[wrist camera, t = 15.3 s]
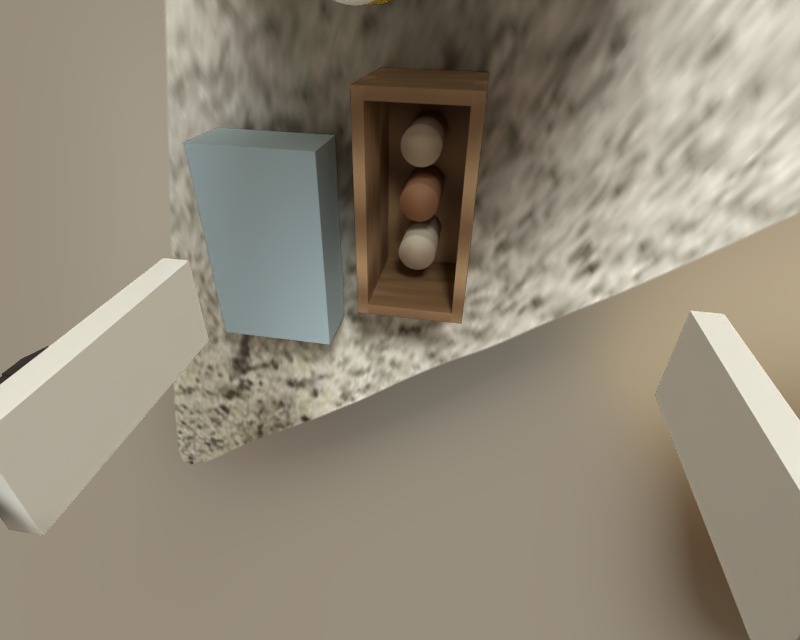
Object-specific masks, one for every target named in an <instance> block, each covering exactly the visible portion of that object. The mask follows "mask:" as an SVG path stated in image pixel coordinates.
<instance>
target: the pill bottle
mask: <svg viewBox="0 0 800 640" xmlns="http://www.w3.org/2000/svg"><path fill="white" fill-rule="evenodd" d="M334 1H336V2H339V3H342V4H346V5H353V6H358V5H371V4H383V3H387V2H391V1H393V0H334Z"/></svg>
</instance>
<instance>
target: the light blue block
mask: <svg viewBox="0 0 800 640" xmlns="http://www.w3.org/2000/svg"><path fill="white" fill-rule="evenodd" d="M184 146H185V151H186V155H187V160H188V164H189V169H190V173H191V178H192V182H193V187H194V191H195V196H196V200H197V205H198V209H199V214H200V218H201V223H202V227H203V232H204V236H205V241H206V245H207V250H208V254H209V259H210V263H211V268H212V272H213V277H214V282H215V286H216V291H217V295H218V300H219V304H220V309H221V313H222V318H223V322H224V327H225V331H226V332H230V333H238V334H247V335H255V336H263V337H271V338H280V339H288V340H296V341H304V342H313V343H321V344H329V345H330V343H331V341H332V339H333V337H334V335H335V333H336V331H337V329H338V327H339V325H340V323H341V321H342V319H343V316H344V299H343V280H342V261H341V242H340V223H339V204H338V185H337V166H336V147H335V135H325V134H310V133H294V132H278V131H262V130H247V129H231V128H214V129H212V130H210V131H208V132H206V133H204V134H201V135H199V136H197V137H195V138H193V139H190V140H188V141H186V142H184Z"/></svg>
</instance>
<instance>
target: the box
mask: <svg viewBox="0 0 800 640" xmlns="http://www.w3.org/2000/svg"><path fill="white" fill-rule="evenodd" d="M488 79H489V72H484V71H460V70H436V69H412V68H388V67H380V68H378V69H377V70H375V71H373V72H372V73H370V74H368V75H367V76H365V77H363V78H361V79H360V80H358V81H356V82H355V83H353V84H351V85H350V100H351V128H352V155H353V183H354V210H355V238H356V265H357V293H358V312H360V313H369V314H378V315H387V316H396V317H405V318H415V319H424V320H433V321H442V322H451V323H460V324H462V315H463V307H464V298H465V290H466V281H467V272H468V263H469V254H470V245H471V236H472V227H473V217H474V208H475V199H476V190H477V180H478V171H479V162H480V153H481V144H482V134H483V125H484V116H485V107H486V98H487V88H488Z"/></svg>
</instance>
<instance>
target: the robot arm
mask: <svg viewBox="0 0 800 640" xmlns="http://www.w3.org/2000/svg"><path fill="white" fill-rule="evenodd" d="M208 341H209V339H208V335H207V331H206V327H205V323H204V319H203V315H202V311H201V307H200V303H199V299H198V295H197V291H196V287H195V283H194V279H193V275H192V271H191V267H190V263H189V261H188V260H178V259H168V258H163V259H162V260H160V261H159V262H158V263H156V264H155V265H154V266H153V267H151V268H150V269H149V270H147V271H146V272H145V273H144V274H142V275H141V276H140V277H138V278H137V279H136V280H135V281H133V282H132V283H131V284H129V285H128V286H127V287H125V288H124V289H123V290H122V291H120V292H119V293H118V294H117V295H115V296H114V297H113V298H111V299H110V300H109V301H107V302H106V303H105V304H104V305H102V306H101V307H100V308H98V309H97V310H96V311H94V312H93V313H92V314H91V315H89V316H88V317H87V318H85V319H84V320H83V321H82V322H80V323H79V324H78V325H76V326H75V327H74V328H73V329H71V330H70V331H69V332H67V333H66V334H65V335H64V336H62V337H61V338H60V339H58V340H57V341H56V342H55V343H53V344H52V345H51V346H47V347H45V348H43V349H41V350H39V351H37V352H35V353H33V354H31V355H29V356H27V357H24V358H23V359H21V360H20V361H18V362H17V363H16V364H15V365H13V366H12V367H10V368H9V369H8V370H7V371H5V372H4V373H2V377H1V378H0V518H1V519H2V521H3V522H4V523H5V525H6V526H7V527H8V529H9V530H15V531H20V532H25V533H31V534H36V535H41V536H43V535H44V534H45V533H46V532H47V531H48V530H49V528H50V527H51V526H52V525H53V524H54V522H55V521H56V520H57V519H58V518H59V517H60V515H61V514H62V513H63V512H64V511H65V510H66V508H67V507H68V506H69V505H70V504H71V502H72V501H73V500H74V499H75V498H76V496H77V495H78V494H79V493H80V492H81V491H82V489H83V488H84V487H85V486H86V485H87V484H88V482H89V481H90V480H91V479H92V478H93V477H94V475H95V474H96V473H97V472H98V471H99V469H100V468H101V467H102V466H103V465H104V464H105V462H106V461H107V460H108V459H109V457H110V456H111V455H112V454H113V453H114V452H115V451H116V449H117V448H118V447H119V446H120V445H121V443H122V442H123V441H124V440H125V439H126V438H127V436H128V435H129V434H130V433H131V432H132V430H133V429H134V428H135V427H136V426H137V425H138V423H139V422H140V421H141V420H142V418H144V416H145V415H146V414H147V413H148V412H149V410H150V409H151V408H152V407H153V406H154V405H155V403H156V402H157V401H158V400H159V399H160V397H161V396H162V395H163V394H164V393H165V392H166V390H167V389H168V388H169V387H170V386H171V385H172V383H173V382H174V381H175V380H176V379H177V377H178V376H179V375H180V374H181V373H182V372H183V370H184V369H185V368H186V367H187V366H188V364H189V363H190V362H191V361H192V360H193V359H194V357H195V356H196V355H197V354H198V353H199V351H200V350H201V349H202V348H203V347H204V346H205V344H206V343H207V342H208ZM655 397H656V399H657V402H658V404H659V407H660V410H661V412H662V415H663V417H664V420H665V422H666V425H667V427H668V430H669V433H670V435H671V438H672V440H673V443H674V445H675V448H676V451H677V453H678V455H679V458H680V461H681V463H682V466H683V468H684V471H685V473H686V476H687V479H688V481H689V484H690V486H691V489H692V491H693V494H694V497H695V499H696V502H697V504H698V507H699V509H700V512H701V515H702V517H703V520H704V522H705V525H706V527H707V530H708V532H709V535H710V538H711V540H712V542H713V545H714V548H715V550H716V553H717V555H718V558H719V561H720V563H721V566H722V568H723V571H724V573H725V576H726V579H727V581H728V584H729V586H730V588H731V591H732V594H733V596H734V599H735V602H736V604H737V607H738V609H739V612H740V614H741V617H742V619H743V622H744V625H745V627H746V630H747V632H748V635H749V637H750V640H800V421H799V419H798V418H797V416H796V415H795V413H794V412H793V411H792V409H791V408H790V406H789V405H788V404H787V402H786V401H785V399H784V398H783V397H782V395H781V394H780V392H779V391H778V389H777V388H776V387H775V385H774V384H773V382H772V381H771V380H770V378H769V377H768V375H767V374H766V373H765V371H764V370H763V368H762V367H761V365H760V364H759V363H758V362H757V360H756V359H755V357H754V356H753V354H752V353H751V351H750V350H749V349H748V347H747V346H746V344H745V343H744V342H743V340H742V339H741V337H740V336H739V335H738V333H737V332H736V330H735V329H734V327H733V326H732V325H731V323H730V322H729V320H728V319H727V318H726V316H725V315H724V314H718V313H708V312H698V311H690V313H689V315H688V317H687V320H686V322H685V324H684V327H683V329H682V332H681V334H680V336H679V339H678V341H677V344H676V346H675V349H674V351H673V353H672V355H671V358H670V360H669V362H668V365H667V367H666V370H665V372H664V374H663V377H662V379H661V381H660V384H659V386H658V389H657V391H656V393H655Z"/></svg>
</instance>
